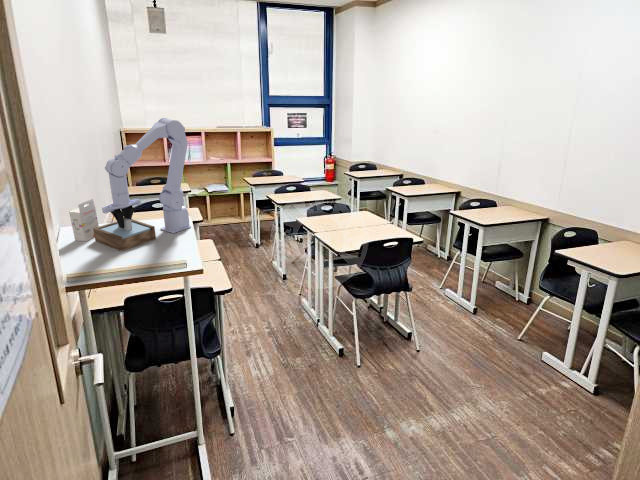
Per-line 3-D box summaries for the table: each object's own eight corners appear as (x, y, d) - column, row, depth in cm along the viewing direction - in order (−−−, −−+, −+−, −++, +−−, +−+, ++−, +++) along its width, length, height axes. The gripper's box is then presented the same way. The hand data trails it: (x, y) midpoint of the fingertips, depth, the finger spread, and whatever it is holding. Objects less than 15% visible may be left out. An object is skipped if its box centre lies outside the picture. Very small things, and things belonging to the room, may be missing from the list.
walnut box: (130, 230, 177) (128, 218, 175) (155, 238, 169) (154, 226, 167) (95, 241, 165) (93, 228, 163) (121, 251, 157) (119, 237, 155)
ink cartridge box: (89, 232, 173) (83, 197, 167) (100, 234, 172) (94, 198, 166) (74, 240, 165) (66, 203, 160) (85, 242, 164) (78, 204, 159)
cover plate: (128, 222, 173) (126, 211, 172) (150, 230, 167) (149, 218, 165) (100, 231, 164) (97, 219, 162) (122, 239, 157) (120, 226, 155)
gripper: (130, 186, 167) (135, 219, 172) (94, 194, 156) (100, 229, 161) (142, 189, 164) (146, 223, 169) (106, 197, 152) (112, 233, 157)
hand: (125, 226), depth 165 cm, fingers closed on cover plate
